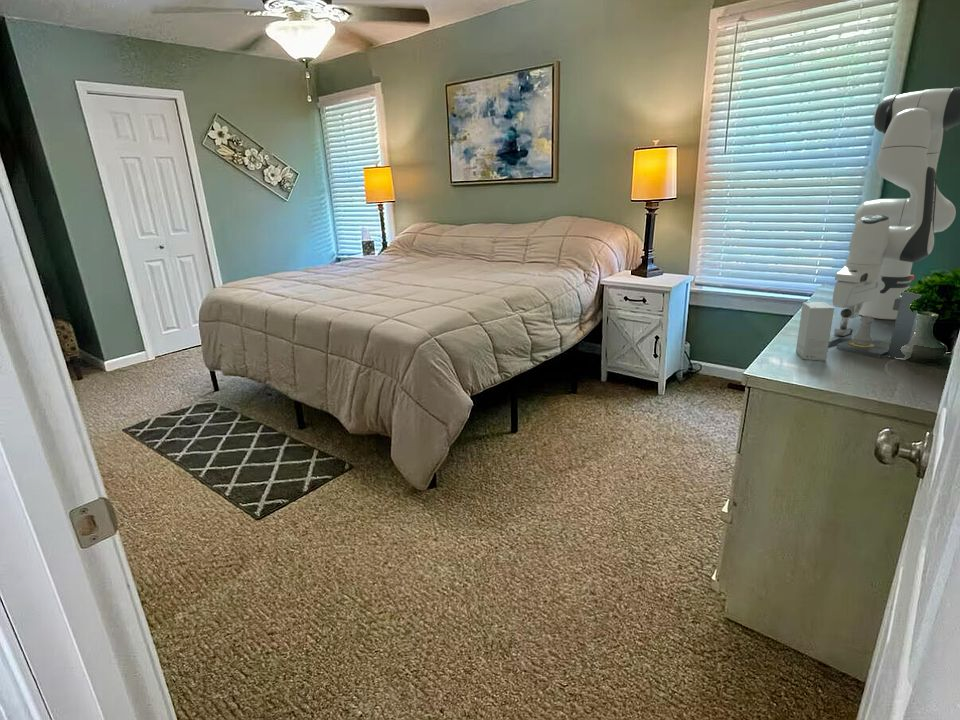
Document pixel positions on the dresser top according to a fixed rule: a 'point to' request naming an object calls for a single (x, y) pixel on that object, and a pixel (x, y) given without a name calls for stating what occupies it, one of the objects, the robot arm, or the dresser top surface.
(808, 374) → the dresser top surface
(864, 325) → the rook chess piece
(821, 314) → the skincare box
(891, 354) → the press
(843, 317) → the lever
